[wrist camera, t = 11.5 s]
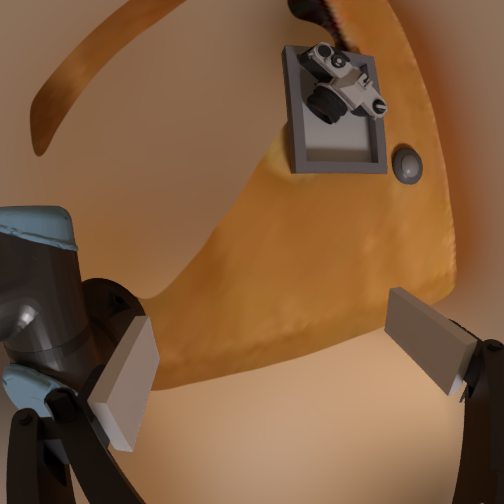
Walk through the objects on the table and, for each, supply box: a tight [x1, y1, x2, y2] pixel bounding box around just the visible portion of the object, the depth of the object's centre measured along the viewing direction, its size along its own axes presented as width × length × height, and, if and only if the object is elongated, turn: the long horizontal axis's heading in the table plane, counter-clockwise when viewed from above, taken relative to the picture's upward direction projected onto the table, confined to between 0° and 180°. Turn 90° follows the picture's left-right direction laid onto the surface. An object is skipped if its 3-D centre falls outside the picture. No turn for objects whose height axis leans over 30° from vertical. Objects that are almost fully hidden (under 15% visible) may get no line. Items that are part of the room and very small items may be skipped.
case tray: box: [281, 45, 387, 174], centre depth 35 cm, size 14×19×3 cm
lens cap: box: [392, 148, 423, 184], centre depth 39 cm, size 6×6×2 cm
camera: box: [298, 42, 388, 125], centre depth 31 cm, size 13×8×9 cm, turn 56°
